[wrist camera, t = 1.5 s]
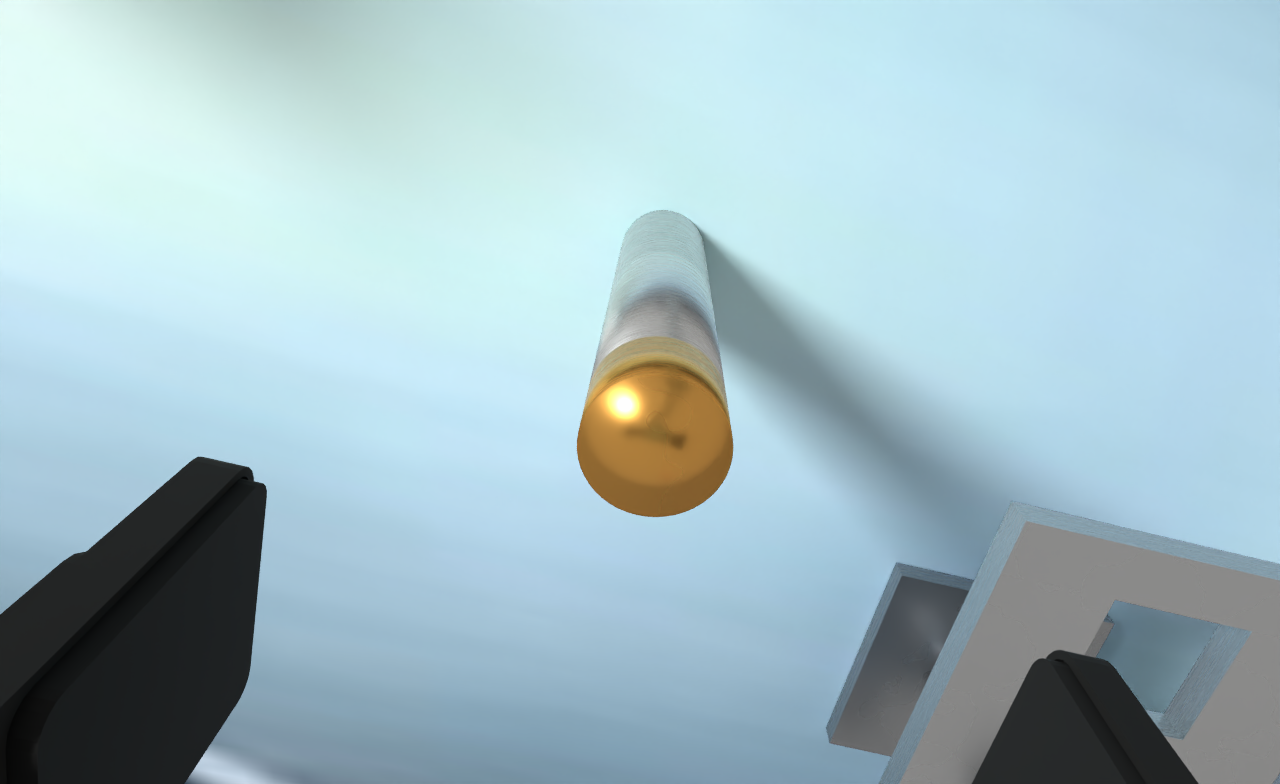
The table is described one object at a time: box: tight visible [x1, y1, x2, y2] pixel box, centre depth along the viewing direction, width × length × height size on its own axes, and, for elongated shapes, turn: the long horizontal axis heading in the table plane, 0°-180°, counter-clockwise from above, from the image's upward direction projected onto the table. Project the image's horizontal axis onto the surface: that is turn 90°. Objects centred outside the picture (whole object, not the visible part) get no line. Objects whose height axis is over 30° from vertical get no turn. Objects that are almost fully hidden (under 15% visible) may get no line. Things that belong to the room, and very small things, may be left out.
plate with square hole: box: [826, 501, 1280, 784], centre depth 28 cm, size 20×10×11 cm, turn 166°
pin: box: [577, 210, 733, 517], centre depth 21 cm, size 3×3×14 cm
